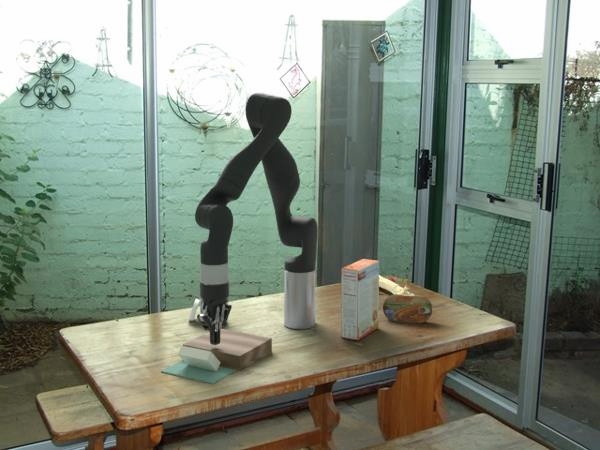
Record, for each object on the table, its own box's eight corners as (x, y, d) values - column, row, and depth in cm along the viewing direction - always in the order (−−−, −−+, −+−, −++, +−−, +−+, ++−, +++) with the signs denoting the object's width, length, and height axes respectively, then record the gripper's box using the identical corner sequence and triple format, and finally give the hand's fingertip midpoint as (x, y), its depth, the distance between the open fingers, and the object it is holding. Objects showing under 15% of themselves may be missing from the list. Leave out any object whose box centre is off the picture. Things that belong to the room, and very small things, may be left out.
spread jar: (231, 324, 238) (231, 287, 236) (196, 329, 233) (195, 291, 231) (218, 314, 249) (218, 278, 247) (184, 318, 244) (183, 282, 242)
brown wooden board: (217, 341, 223) (216, 327, 222) (271, 352, 215) (271, 338, 214) (182, 358, 209) (182, 344, 208) (240, 370, 201) (239, 356, 200)
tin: (382, 320, 243) (383, 294, 242) (383, 317, 246) (384, 291, 245) (431, 324, 240) (432, 297, 238) (432, 321, 243) (433, 295, 241)
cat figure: (419, 304, 267) (378, 281, 288) (422, 279, 264) (380, 258, 285) (395, 308, 262) (355, 285, 283) (397, 283, 260) (356, 261, 281)
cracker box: (361, 325, 239) (362, 257, 235) (379, 328, 236) (380, 260, 232) (339, 337, 227) (340, 267, 223) (357, 341, 224) (359, 269, 220)
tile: (181, 345, 201) (177, 354, 199) (210, 351, 196) (206, 360, 195) (191, 356, 205) (187, 365, 204) (220, 362, 201) (216, 371, 200)
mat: (184, 360, 208) (184, 358, 208) (235, 370, 201) (235, 369, 201) (160, 372, 200) (160, 370, 200) (213, 383, 192) (213, 382, 192)
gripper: (216, 272, 210) (217, 334, 213) (187, 283, 199) (188, 349, 202) (240, 276, 207) (240, 339, 210) (211, 287, 195) (212, 353, 198)
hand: (215, 344), depth 206 cm, fingers closed
